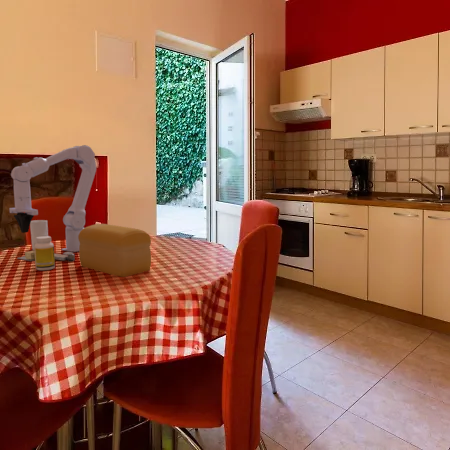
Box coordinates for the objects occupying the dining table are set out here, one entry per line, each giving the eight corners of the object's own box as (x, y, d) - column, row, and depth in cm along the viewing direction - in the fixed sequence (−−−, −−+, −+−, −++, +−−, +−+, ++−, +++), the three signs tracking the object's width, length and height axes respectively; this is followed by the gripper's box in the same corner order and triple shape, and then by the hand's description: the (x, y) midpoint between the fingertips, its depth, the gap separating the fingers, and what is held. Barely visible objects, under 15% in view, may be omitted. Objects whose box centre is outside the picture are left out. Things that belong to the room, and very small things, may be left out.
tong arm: (40, 255, 156) (40, 247, 156) (73, 259, 149) (73, 252, 149) (34, 256, 154) (34, 249, 153) (67, 261, 146) (66, 253, 146)
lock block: (33, 256, 152) (33, 250, 152) (39, 257, 151) (39, 251, 150) (25, 258, 149) (24, 252, 149) (31, 259, 148) (31, 253, 147)
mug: (45, 250, 167) (43, 222, 165) (28, 250, 166) (27, 222, 165) (54, 245, 177) (52, 219, 175) (38, 245, 176) (37, 219, 174)
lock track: (26, 256, 155) (26, 256, 155) (40, 259, 151) (40, 258, 151) (17, 258, 151) (17, 257, 151) (31, 261, 147) (31, 260, 147)
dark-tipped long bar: (46, 254, 159) (45, 248, 158) (78, 260, 150) (78, 253, 150) (38, 256, 156) (38, 250, 155) (71, 261, 147) (70, 255, 147)
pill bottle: (58, 268, 137) (56, 237, 136) (39, 271, 133) (37, 239, 131) (50, 265, 142) (49, 235, 140) (32, 268, 137) (30, 237, 136)
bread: (78, 266, 142) (76, 224, 139) (108, 259, 152) (107, 221, 150) (122, 278, 127) (121, 231, 125) (152, 270, 137) (151, 227, 135)
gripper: (1, 197, 153) (3, 232, 155) (25, 199, 146) (27, 235, 148) (18, 196, 159) (20, 229, 161) (42, 197, 152) (44, 232, 154)
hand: (24, 232), depth 155 cm, fingers closed
